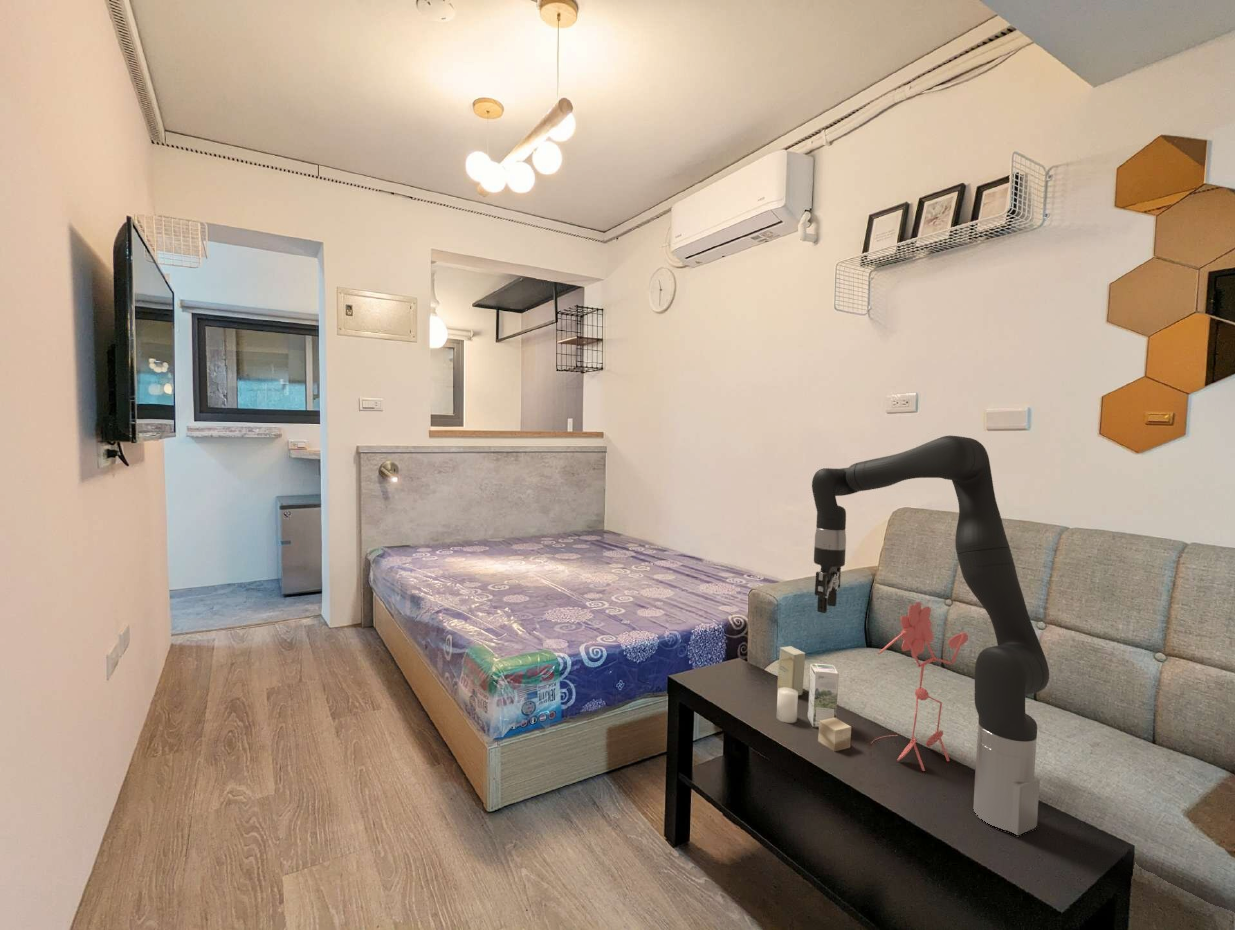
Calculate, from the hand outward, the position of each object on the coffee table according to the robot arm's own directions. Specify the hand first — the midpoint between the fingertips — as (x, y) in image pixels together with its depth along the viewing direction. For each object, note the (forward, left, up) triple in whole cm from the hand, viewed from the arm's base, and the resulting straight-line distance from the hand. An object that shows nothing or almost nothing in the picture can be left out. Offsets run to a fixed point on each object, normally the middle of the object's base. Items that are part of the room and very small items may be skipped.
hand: (827, 608), depth 148 cm
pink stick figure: (-20, -7, -29) cm, 36 cm away
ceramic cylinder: (+4, +8, -29) cm, 30 cm away
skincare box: (+16, -4, -29) cm, 33 cm away
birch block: (-11, +7, -29) cm, 31 cm away
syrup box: (-2, +2, -29) cm, 29 cm away
